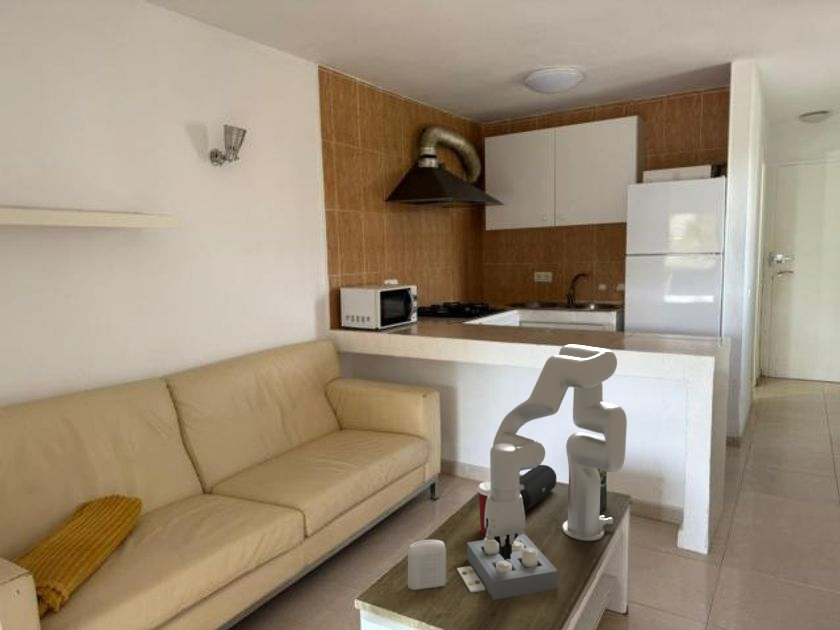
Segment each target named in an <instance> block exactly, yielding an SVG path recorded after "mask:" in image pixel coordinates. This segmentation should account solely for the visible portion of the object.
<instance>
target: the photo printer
mask: <svg viewBox="0 0 840 630" xmlns="http://www.w3.org/2000/svg"><path fill="white" fill-rule="evenodd" d="M446 553H447V550H446V545H445V543H444V541H442V540H438V539H424V540H419V541H416V542H413V543H412V544H411V543H410V544H409V545H408V551H407V587H408V589H410V590H414V591H417V590H423V589H424V590H425V589H431V588H433V589H434V588H440V587H444V586H445V585H446V578H447V577H446V573H447V571H446V569H447V567H446V566H447V564H446V563H447V562H446V561H447V558H446V557H447V554H446Z"/></svg>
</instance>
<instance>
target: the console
mask: <svg viewBox="0 0 840 630" xmlns="http://www.w3.org/2000/svg"><path fill="white" fill-rule="evenodd" d="M505 537H506V536H504V538H505ZM514 541H518V542H521V543H523V544H524V548H534V549H536V550H537V551H538V567H532V568H526V569H525V568H524V566H523V565H522V564H521V563H520V561H522V551H515V552H512V554H511V559H507V560H504V559H503V557H502V556H501V555H500V554H496V555H490V556H486V554H485V553H484V539H482V540H476V541H474V540H473V541H469V542H466V559H467V561H468V563H469V564H470V566H471V567H472V569H473V570H474V572H475V573H476V575H477V576H478V578H479V580H480V581H481V583H482V584H483V586H484V587H485V590H486V591H487V592H488V594H489V595H490V597H491V598H492V600H493V601H496V600H502V599H509V598H513V597H518V596H524V595H530V594H535V593H541V592H547V591H552V590H558V588H559V587H558V581H559V580H558V579H559V577H558V576H559V570H558V569H557V568H556V567H555V566H554V565H553V563H552V562H550V560H549V559H548V558H547V556H545V555H544V553H543V552H541V550H540V549H539V548H538V547H537V546H536V545H535V543H534V542H533V541H532V540H531V539H530V538H529V537H528V536H527V535H526V534H525V533H524V534H522V535H520V536H518V537H517V538H516V539H515V540H514ZM499 561H507V562H509V563H511V564H512V571H508V572H502V573H498V571H497V570H496V563H497V562H499Z"/></svg>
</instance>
